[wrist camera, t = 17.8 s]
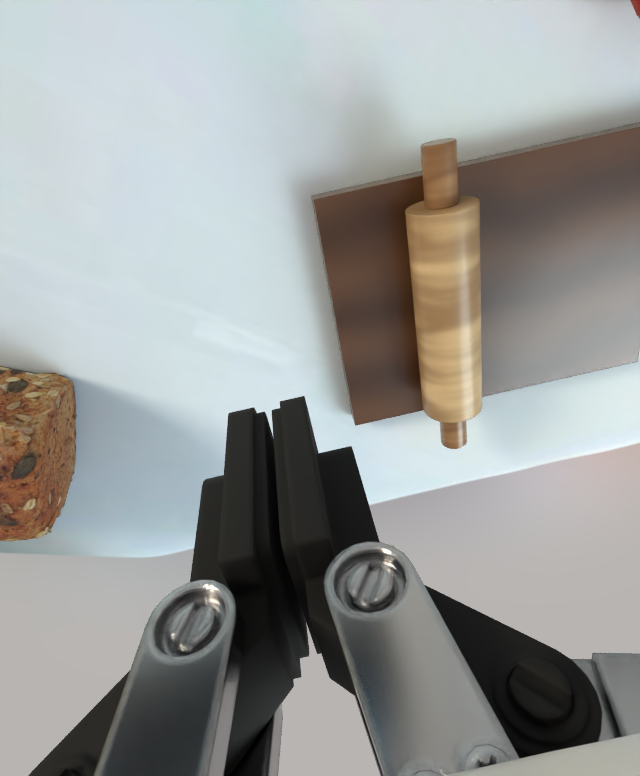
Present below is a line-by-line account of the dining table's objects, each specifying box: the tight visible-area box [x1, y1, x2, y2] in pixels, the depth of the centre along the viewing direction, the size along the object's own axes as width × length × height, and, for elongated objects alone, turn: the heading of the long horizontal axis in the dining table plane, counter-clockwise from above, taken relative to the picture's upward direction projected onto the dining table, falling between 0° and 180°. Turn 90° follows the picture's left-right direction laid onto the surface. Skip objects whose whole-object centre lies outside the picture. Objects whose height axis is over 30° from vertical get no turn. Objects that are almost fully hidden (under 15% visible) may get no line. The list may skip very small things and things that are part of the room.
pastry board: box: [311, 123, 640, 425], centre depth 36 cm, size 18×24×2 cm
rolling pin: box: [405, 138, 482, 449], centre depth 33 cm, size 22×4×4 cm, turn 10°
